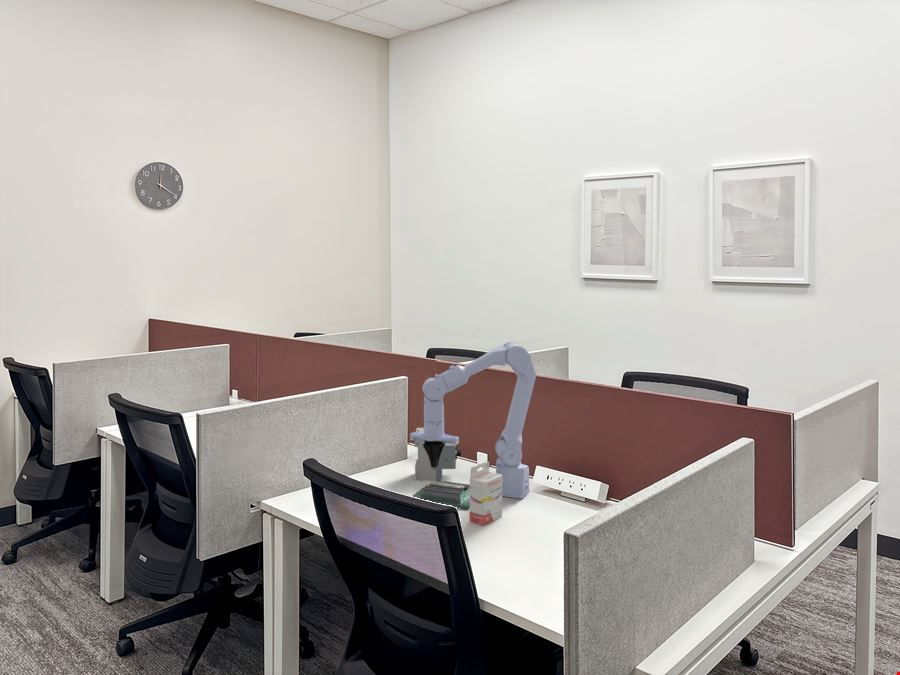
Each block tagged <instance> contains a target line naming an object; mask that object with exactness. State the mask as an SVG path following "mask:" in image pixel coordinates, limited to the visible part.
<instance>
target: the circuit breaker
mask: <svg viewBox="0 0 900 675" xmlns="http://www.w3.org/2000/svg"><path fill="white" fill-rule="evenodd" d="M415 433H424V427H416V430H415ZM424 442H425V441H419V440H414V447H415V448H417V458H416V459H415V460H416V462H415V464H414V481H415V482H416V481H420V482H423V481H424V482H425V481H427V482H428V481H429V482H431V481H432V480H438V481H443V480H442V478H443V470H456V465H457V460H458V457H462V449H458V447H457V445H453V444H449V443H445V446H444V448H443V450H442V452H441V455H440V459H439V463H438V466H437V467H431V464H430V460H429V457H428V454H427V452H426V450H425V449H424V447H423V444H424Z"/></svg>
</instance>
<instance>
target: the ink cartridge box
mask: <svg viewBox="0 0 900 675" xmlns="http://www.w3.org/2000/svg"><path fill="white" fill-rule="evenodd" d="M480 468H481V470H480ZM502 481H503V475H501V474H496V472H491V471H490V461H485V462H483V463H480V464H478V465H475V466H474V465H473V466H471V468H470V475H469V485H470V508H469V522H470V523H474V524H477V525H478V526H479V525H480V526H482V527H483V526H486V525H488V524H491V523H492V522H494V521H496V520H498V519H500V517H501V518H503V496H502Z"/></svg>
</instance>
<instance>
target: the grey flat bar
mask: <svg viewBox="0 0 900 675" xmlns="http://www.w3.org/2000/svg"><path fill="white" fill-rule="evenodd" d="M428 484H429V485H430V486H435V487H442V488H448V489H454V490H464V489H465V488H466V486H465V485H464V486H463V485H456V484H450V483H444V482H438V481H429V483H428Z"/></svg>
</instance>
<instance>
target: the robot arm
mask: <svg viewBox="0 0 900 675" xmlns="http://www.w3.org/2000/svg"><path fill="white" fill-rule="evenodd" d="M507 365H509V366H510V368H511V370H513V372H514V373H515V375H516V377H517V378H516V383H515V387H514V391H513V394H512V397H511V398H512V399H511V403H510V406H509V411H508V414H507V419H506V422H505V427H504V429H503V430H502V431H501V434H500V437H499V439H497V441H496V443H495V444H494V451H495V453H496V456H498V457H497V459H496V461H495V473H496V474H501V475H503V481H502V497H507V498H514V499H523V498H524V497H525V496H526V495H527V494H528V493H529V492H530V491H531V489H530V468H529V465H527V464H523V463H522V462H521V461H522V459H523V451H522V447H523V446H522V445H523V437H522V436H523V430H524V426H525V421H526V418H527V414H528V411H529V406H530V402H531V398H532V394H533V389H534V386H535V383H536V378H537V373H536V370H535V367H534V364H533V360H532V355H531V354H530V353H529V351H527V349H526V348H525V347H523V346H522V345H519V344H517V343H516V342H514V341H508V342H506V343H504V344H503V345H500V346H497V347H495V348H493V349H491V350H490V351H488V352H486V353H485V354H483V355H481V356H479V357H477V358H476V359H474V360H472V361H471V362H469V363H468V364H466V365H464V366H462V365H459V364H457V365H456V366H455V365H453V364H452V365H450V366H449V369H447V370H445V371H444V372H442V373H440V374H438V373H436V374H435V375H434V377H429V378H427V379H426V380H425V381H424V383H423V385H422V387H421V390H422V392H423V394H424V396H423V402H424V403H423V428H424V433H416V431H414V432H411V433H410V434H409V441H415V440H419V441H425V442H424V444H423V447H424V449H425V450H426V452H427V454H428V457H429V460H430V464H431V467H437V466H438V463H439V459H440V455H441V452H442V450H443V448H444V446H445V443H449V444H453V445H456V446H457V445H459V443H460V437H459V436H455V435H450V434H446V433H445V411H444V409H445V406H444V397H445V395H446V394H447V393H450V392H452V391H454V390H456V389H458V388H460V387H462V386H463V385H465V384H467V383H468V380H469V379H470V377H471V376H473V375H475V374H477V373H479V372H481V371H483V370H486V369H488V368H490V367H492V366H502V367H503V366H505V367H506V366H507Z"/></svg>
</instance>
